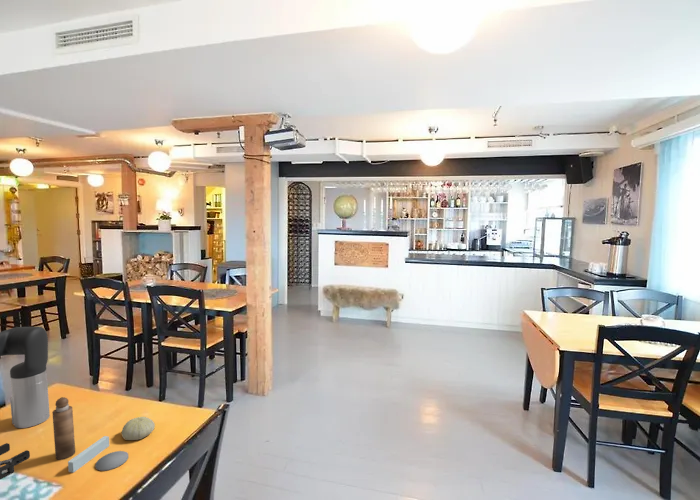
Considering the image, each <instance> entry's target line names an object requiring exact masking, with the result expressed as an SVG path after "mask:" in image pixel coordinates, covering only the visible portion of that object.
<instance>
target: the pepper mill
mask: <svg viewBox="0 0 700 500" xmlns="http://www.w3.org/2000/svg"><path fill="white" fill-rule="evenodd" d="M73 411H74V410H73V406H71V405H70V404H69V399H68V397H60V398H58V399H57V400H56V401H55V409H54V410H53V411H52V413H51V414H52V424H53V425H52V426H53V441H54V453H55V456H54V457H55V459H56V460H57V461H62V460H67V459H68V458H71V457H72V456H73V455H75V454H76V443H75V442H76V441H75V428H74V426H75V425H74V414H73Z"/></svg>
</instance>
